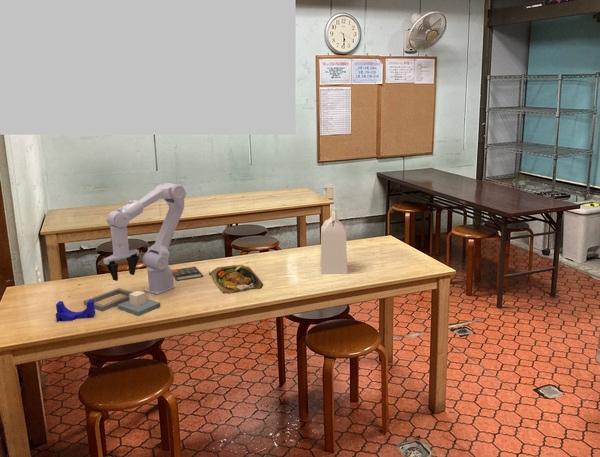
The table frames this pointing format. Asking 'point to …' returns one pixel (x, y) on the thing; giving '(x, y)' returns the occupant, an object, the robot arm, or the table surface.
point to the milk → (333, 247)
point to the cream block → (137, 298)
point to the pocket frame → (108, 294)
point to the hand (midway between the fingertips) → (124, 277)
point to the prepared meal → (235, 278)
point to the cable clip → (68, 315)
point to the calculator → (186, 273)
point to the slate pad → (139, 307)
